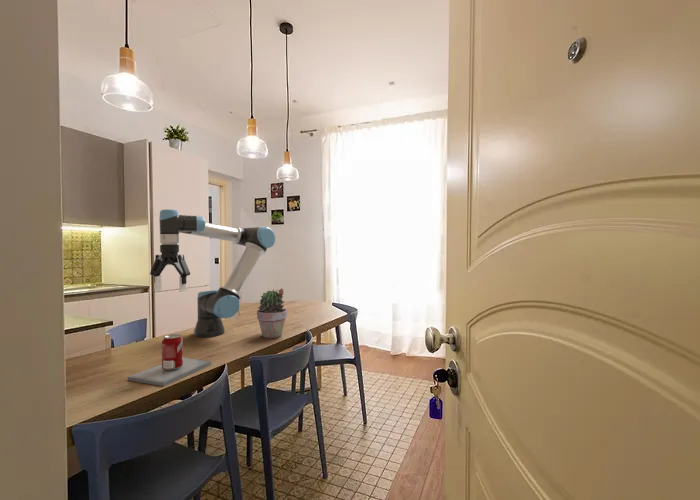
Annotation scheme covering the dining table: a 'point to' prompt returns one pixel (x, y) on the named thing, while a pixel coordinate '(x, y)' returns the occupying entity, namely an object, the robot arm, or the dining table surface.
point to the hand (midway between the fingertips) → (170, 291)
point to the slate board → (169, 372)
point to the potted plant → (271, 314)
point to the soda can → (172, 352)
